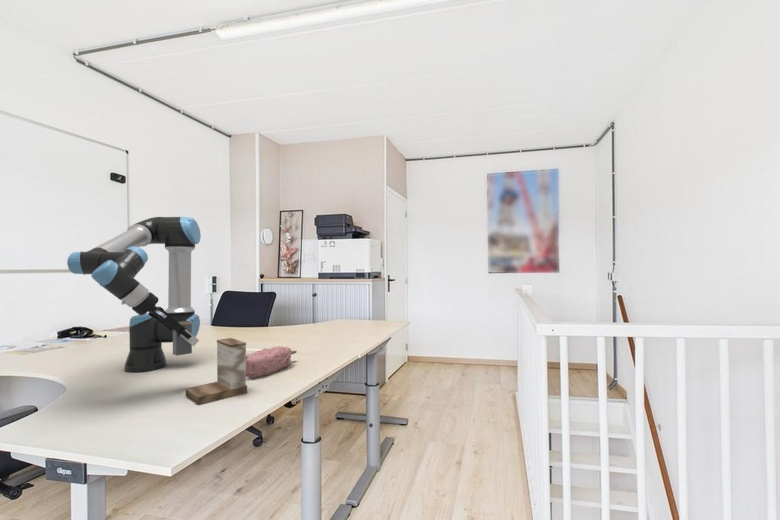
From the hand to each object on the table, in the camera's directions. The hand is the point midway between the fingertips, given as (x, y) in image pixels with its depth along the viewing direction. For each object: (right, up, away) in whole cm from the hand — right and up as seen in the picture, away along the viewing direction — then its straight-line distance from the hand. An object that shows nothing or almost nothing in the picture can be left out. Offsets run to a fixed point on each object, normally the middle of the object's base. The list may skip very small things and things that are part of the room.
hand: (193, 342), depth 139 cm
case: (-3, -3, -3) cm, 5 cm away
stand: (+12, -16, -8) cm, 21 cm away
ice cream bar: (+21, -17, +22) cm, 35 cm away
